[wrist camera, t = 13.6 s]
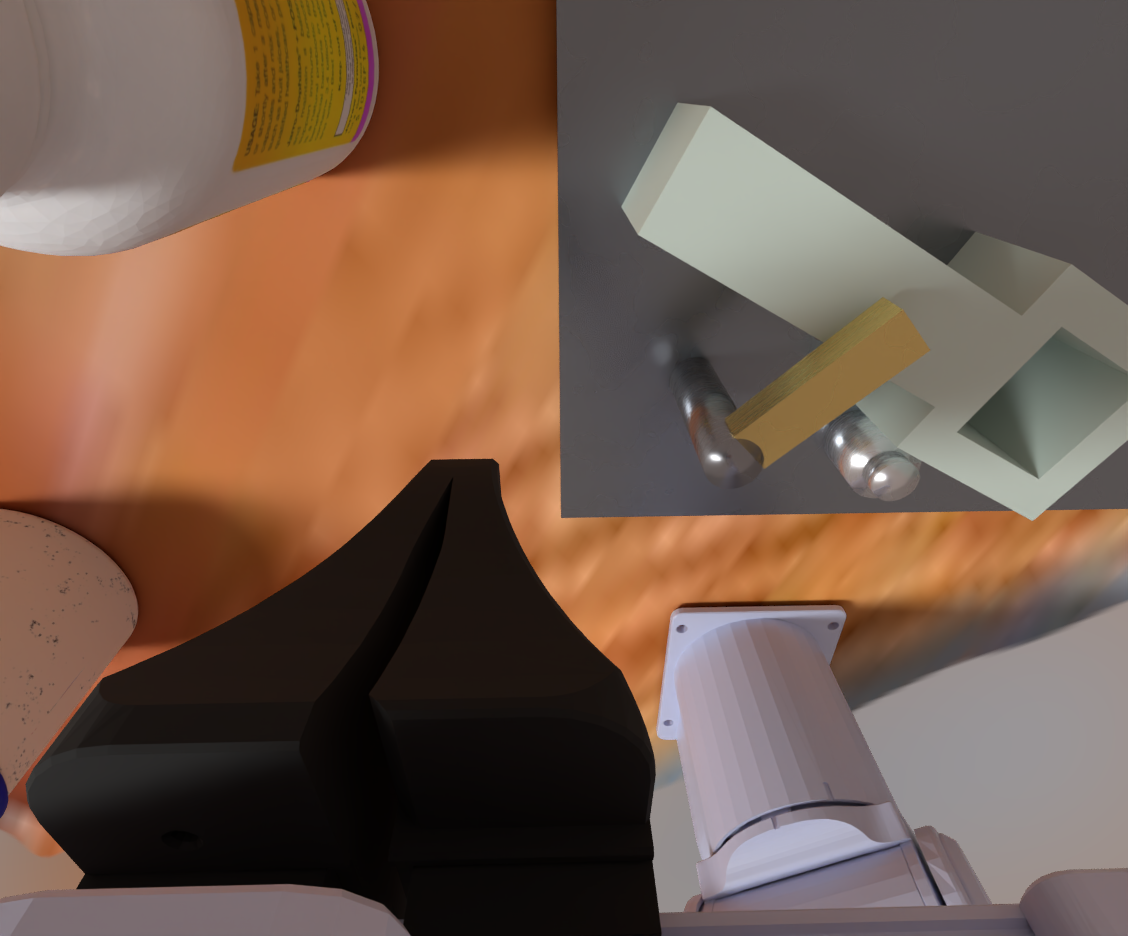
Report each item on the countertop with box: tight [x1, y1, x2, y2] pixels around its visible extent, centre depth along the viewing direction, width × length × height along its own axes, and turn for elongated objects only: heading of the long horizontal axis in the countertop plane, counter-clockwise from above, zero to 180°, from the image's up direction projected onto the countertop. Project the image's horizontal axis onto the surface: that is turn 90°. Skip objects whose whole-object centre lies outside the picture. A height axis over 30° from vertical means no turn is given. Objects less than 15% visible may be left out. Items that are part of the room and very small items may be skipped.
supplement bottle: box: [0, 0, 379, 256], centre depth 11 cm, size 7×7×13 cm
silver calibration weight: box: [824, 409, 921, 501], centre depth 21 cm, size 2×2×4 cm
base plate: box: [556, 0, 1128, 518], centre depth 20 cm, size 17×24×1 cm
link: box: [621, 103, 1128, 521], centre depth 18 cm, size 16×6×4 cm, turn 62°
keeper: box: [669, 297, 930, 489], centre depth 18 cm, size 2×6×6 cm, turn 134°
